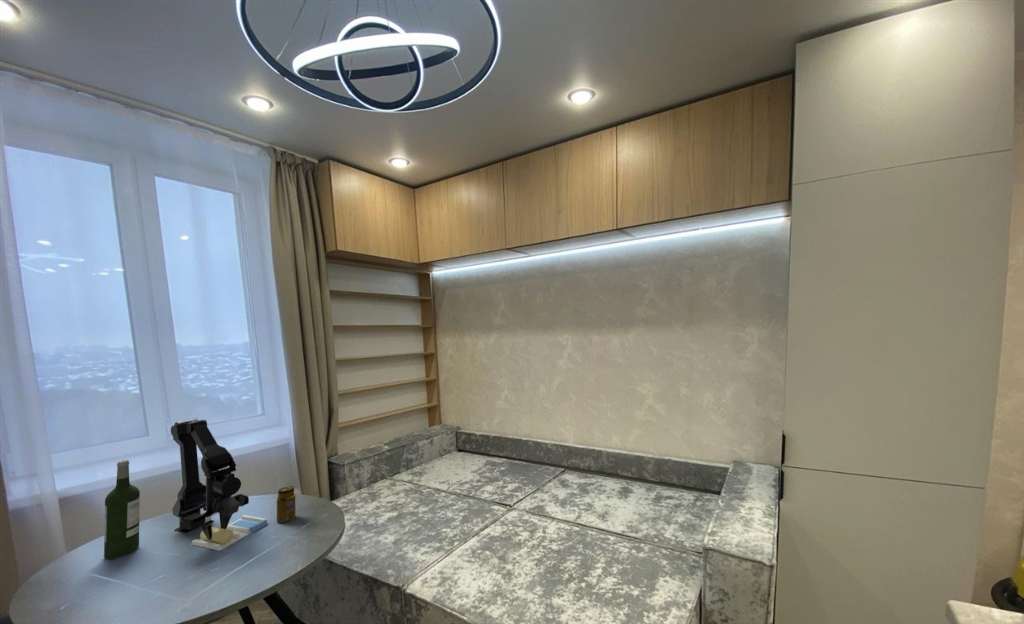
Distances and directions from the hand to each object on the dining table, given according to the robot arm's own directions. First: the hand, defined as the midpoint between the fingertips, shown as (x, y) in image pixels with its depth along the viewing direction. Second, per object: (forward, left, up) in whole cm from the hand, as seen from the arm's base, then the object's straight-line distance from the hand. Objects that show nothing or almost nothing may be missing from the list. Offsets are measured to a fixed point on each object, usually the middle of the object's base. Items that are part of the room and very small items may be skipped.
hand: (216, 536), depth 125 cm
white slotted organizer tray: (0, +5, -2) cm, 5 cm away
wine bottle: (-25, -13, -2) cm, 28 cm away
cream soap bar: (0, 0, -2) cm, 2 cm away
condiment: (+12, +16, -2) cm, 21 cm away
